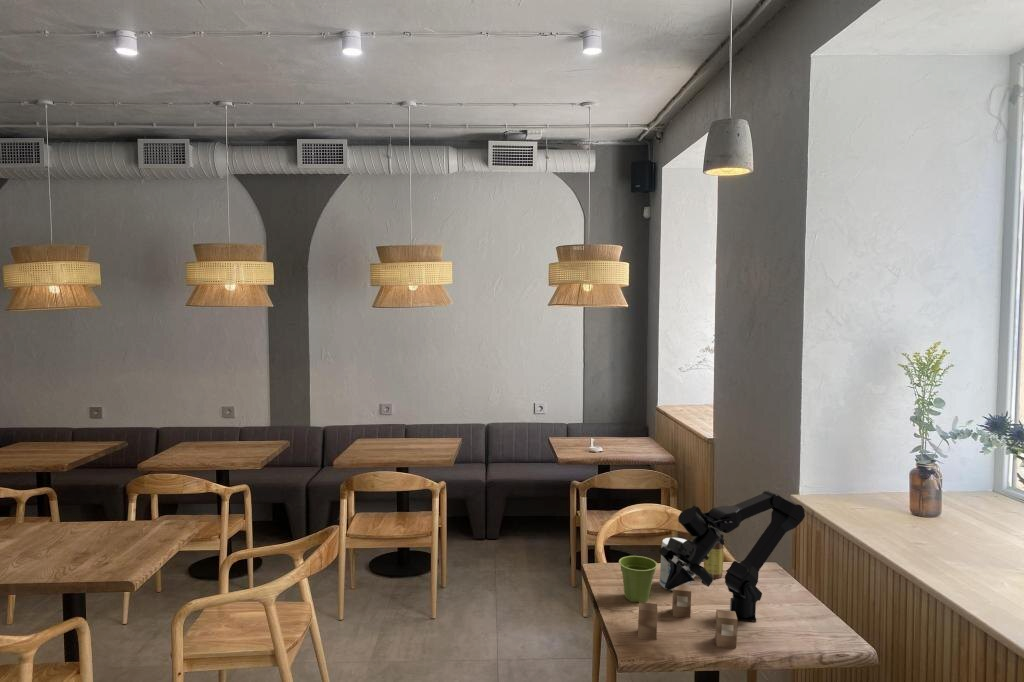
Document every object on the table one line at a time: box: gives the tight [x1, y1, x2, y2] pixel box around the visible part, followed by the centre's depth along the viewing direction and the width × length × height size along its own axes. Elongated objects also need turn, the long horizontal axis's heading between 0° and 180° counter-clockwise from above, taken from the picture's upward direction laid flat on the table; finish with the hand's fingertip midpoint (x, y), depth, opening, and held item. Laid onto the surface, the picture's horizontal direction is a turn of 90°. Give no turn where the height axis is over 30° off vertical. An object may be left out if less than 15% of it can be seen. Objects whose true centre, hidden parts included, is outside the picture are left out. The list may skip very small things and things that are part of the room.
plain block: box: [637, 602, 658, 641], centre depth 201 cm, size 5×5×8 cm
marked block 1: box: [671, 584, 692, 618], centre depth 214 cm, size 5×5×8 cm
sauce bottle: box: [703, 525, 725, 579], centre depth 243 cm, size 6×6×20 cm
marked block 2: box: [714, 609, 739, 649], centre depth 197 cm, size 5×5×8 cm
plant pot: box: [618, 555, 659, 603], centre depth 224 cm, size 12×12×11 cm
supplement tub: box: [659, 537, 691, 592], centre depth 234 cm, size 10×10×15 cm
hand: (666, 589), depth 202 cm, fingers closed
